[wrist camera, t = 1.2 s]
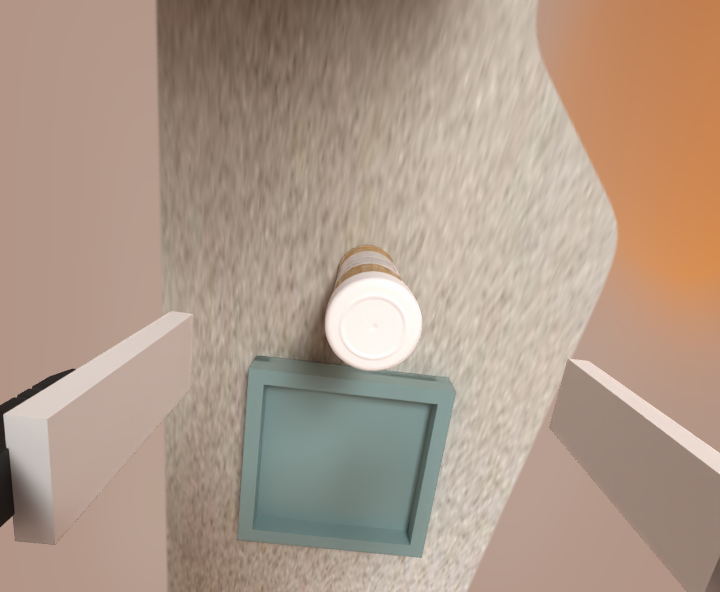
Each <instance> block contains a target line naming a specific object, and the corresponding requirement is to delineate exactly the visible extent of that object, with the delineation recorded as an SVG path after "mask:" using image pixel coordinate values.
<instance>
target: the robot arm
mask: <svg viewBox="0 0 720 592" xmlns="http://www.w3.org/2000/svg"><path fill="white" fill-rule="evenodd" d="M193 320H194V314H190V313H182V312H174V311H170V312H169V313H167V314H166V315H164V316H162V317H161V318H159V319H158V320H156V321H154V322H153V323H151V324H149V325H148V326H146V327H144V328H143V329H141V330H140V331H138V332H136V333H135V334H133V335H132V336H130V337H128V338H127V339H125V340H124V341H122V342H120V343H119V344H117V345H115V346H114V347H112V348H110V349H109V350H107V351H106V352H104V353H102V354H101V355H99V356H97V357H96V358H94V359H93V360H91V361H89V362H88V363H86V364H85V365H83V366H81V367H80V368H78V369H70V370H67V371H64V372H61V373H58V374H56V375H53V376H50V377H48V378H46V379H45V380H43V381H41V382H39V383H38V384H36V385H34V386H33V387H32V389H27V390H26V391H24V392H22V393H21V394H19V395H18V396H17V398H15V397H14V398H12V399H10V400H9V401H7V402H5V403H3V404H2V405H0V527H1V526H2V525H3V524H4V523H5V522H6V521H7V520H9V519H10V518H11V517H12V516H13V524H14V534H15V541H20V542H32V543H42V544H52V545H56V544H57V542H58V541H59V540H60V539H61V538H62V537H63V535H64V534H65V533H66V532H67V531H68V530H69V528H70V527H71V526H72V525H73V524H74V523H75V521H76V520H77V519H78V518H79V517H80V516H81V515H82V513H83V512H84V511H85V510H86V509H87V507H89V505H90V504H91V503H92V502H93V501H94V500H95V498H96V497H97V496H98V495H99V494H100V493H101V491H102V490H103V489H104V488H105V487H106V486H107V484H108V483H109V482H110V481H111V480H112V479H113V477H114V476H115V475H116V474H117V473H118V472H119V471H120V469H121V468H122V467H123V466H124V465H125V464H126V463H127V461H128V460H129V459H130V458H131V457H132V456H133V454H134V453H135V452H136V451H137V450H138V449H139V447H140V446H141V445H142V444H143V443H144V442H145V440H146V439H147V438H148V437H149V436H150V435H151V433H152V432H153V431H154V430H155V429H156V428H157V427H158V425H159V424H160V423H161V422H162V421H163V420H164V419H165V417H166V416H167V415H168V414H169V413H170V412H171V411H172V409H173V408H174V407H175V406H176V405H177V404H178V402H179V401H180V400H181V399H182V398H183V397H184V395H185V394H186V393H187V392H188V391H189V390H190V389H191V385H192V353H193ZM549 428H550V429H551V430H552V432H553V433H554V434H555V435H556V436H557V438H558V439H559V440H560V441H561V442H562V444H563V445H564V446H565V447H566V448H567V450H568V451H569V452H570V453H571V454H572V455H573V457H574V458H575V459H576V460H577V461H578V463H579V464H580V465H581V466H582V467H583V469H584V470H585V471H586V472H587V473H588V475H589V476H590V477H591V478H592V479H593V481H594V482H595V483H596V484H597V485H598V486H599V488H600V489H601V490H602V491H603V492H604V494H605V495H606V496H607V497H608V498H609V499H610V501H611V502H612V503H613V504H614V505H615V507H616V508H617V509H618V510H619V511H620V513H621V514H622V515H623V516H624V517H625V519H626V520H627V521H628V522H629V523H630V525H631V526H632V527H633V528H634V529H635V531H636V532H637V533H638V534H639V535H640V537H641V538H642V539H643V540H644V541H645V542H646V544H647V545H648V546H649V547H650V548H651V550H652V551H653V552H654V553H655V554H656V555H657V557H658V558H659V559H660V560H661V562H662V563H663V564H664V565H665V566H666V567H667V569H668V570H669V571H670V572H671V574H672V575H673V576H674V577H675V578H676V579H677V581H678V582H679V583H680V584H681V585H682V587H683V588H684V589H685V590H686V591H687V592H720V453H719V452H717V451H716V450H714V449H713V448H712V447H710V446H709V445H707V444H706V443H704V442H703V441H702V440H700V439H699V438H697V437H696V436H695V435H693V434H692V433H690V432H689V431H687V430H686V429H684V428H683V427H682V426H680V425H679V424H677V423H676V422H675V421H673V420H672V419H670V418H669V417H667V416H666V415H665V414H663V413H662V412H660V411H659V410H658V409H656V408H655V407H653V406H652V405H650V404H649V403H648V402H646V401H645V400H643V399H642V398H640V397H639V396H638V395H636V394H635V393H633V392H632V391H630V390H629V389H627V388H626V387H625V386H623V385H622V384H621V383H619V382H618V381H616V380H615V379H613V378H612V377H611V376H609V375H608V374H606V373H605V372H603V371H602V370H601V369H599V368H598V367H596V366H595V365H593V364H592V363H591V362H589V361H583V360H575V359H568V360H567V363H566V367H565V371H564V374H563V378H562V382H561V385H560V389H559V393H558V397H557V400H556V404H555V408H554V412H553V415H552V419H551V422H550V426H549Z"/></svg>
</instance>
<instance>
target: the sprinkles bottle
mask: <svg viewBox="0 0 720 592" xmlns="http://www.w3.org/2000/svg"><path fill="white" fill-rule="evenodd" d="M421 332H422V315H421V311H420V308H419V305H418V303H417V301H416V299H415V297H414V295H413V294H412V292H411V291H410V289H409V288H408V287H407V286H406V284H404V283H403V281H402V279H401V276H400V274H399V272H398V271H397V269H396V267H395V265H394V263H393V261H392V259H391V258H390V256H389V255H388V254H387V253H386V252H385V251H383V250H382V249H381V248H379V247H375V246H372V245H361V246H357V247H355V248H353V249H351V250H350V251H349V252H347V253H346V254H345V255H344V257H343V258H342V260H341V262H340V265H339V268H338V275H337V278H336V283H335V287H334V291H333V294H332V295H331V297H330V300H329V302H328V306H327V309H326V315H325V333H326V337H327V340H328V343H329V345H330V347H331V348H332V350H333V351H334V353H335V354H336V355H337V356H338V357H339V358H340V359H341V360H342V361H344V362H345V363H347V364H348V365H350V366H352V367H355V368H357V369H361V370H366V371H380V370H385V369H389V368H392V367H394V366H396V365H398V364H400V363H401V362H403V361H404V360H405V359H406V358H407V357H408V356H409V355H410V354H411V353H412V352H413V351H414V349H415V348H416V346H417V344H418V342H419V339H420V336H421Z"/></svg>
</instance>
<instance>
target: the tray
mask: <svg viewBox="0 0 720 592" xmlns="http://www.w3.org/2000/svg"><path fill="white" fill-rule="evenodd" d="M455 394H456V391H455V389H454V387H453V385H452V383H451V381H450V380H449V378H446V377H437V376H429V375H420V374H412V373H403V372H394V371H386V370H380V371H366V370H361V369H357V368H355V367H351V366H343V365H334V364H326V363H317V362H308V361H300V360H291V359H282V358H274V357H265V356H256V358H255V359H254V361H253V363H252V364H251V366H250V367H249V374H248V389H247V404H246V419H245V434H244V449H243V464H242V479H241V494H240V509H239V524H238V539H237V540H244V541H254V542H264V543H275V544H285V545H295V546H306V547H316V548H326V549H336V550H347V551H357V552H367V553H378V554H388V555H398V556H408V557H419V558H422V553H423V549H424V544H425V539H426V534H427V529H428V524H429V520H430V515H431V510H432V505H433V500H434V495H435V491H436V486H437V481H438V476H439V471H440V466H441V462H442V457H443V452H444V447H445V442H446V437H447V433H448V428H449V423H450V418H451V413H452V408H453V404H454V399H455Z"/></svg>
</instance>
